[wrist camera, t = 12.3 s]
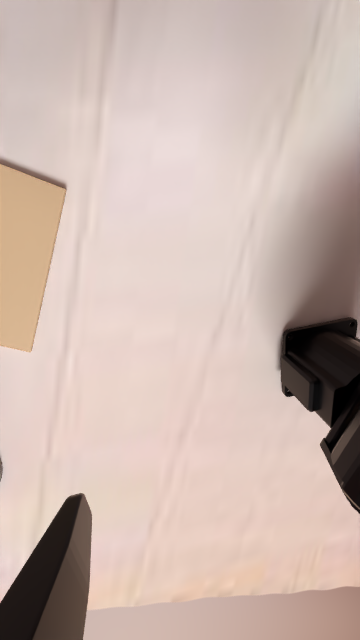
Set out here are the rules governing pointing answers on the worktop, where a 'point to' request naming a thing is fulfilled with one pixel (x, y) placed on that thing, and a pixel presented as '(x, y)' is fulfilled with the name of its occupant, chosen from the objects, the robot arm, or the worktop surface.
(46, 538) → the robot arm
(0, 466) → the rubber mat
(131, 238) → the worktop surface
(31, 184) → the carton
